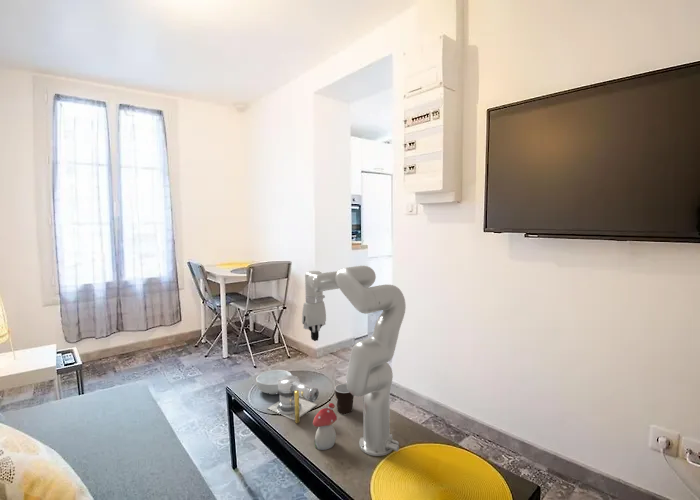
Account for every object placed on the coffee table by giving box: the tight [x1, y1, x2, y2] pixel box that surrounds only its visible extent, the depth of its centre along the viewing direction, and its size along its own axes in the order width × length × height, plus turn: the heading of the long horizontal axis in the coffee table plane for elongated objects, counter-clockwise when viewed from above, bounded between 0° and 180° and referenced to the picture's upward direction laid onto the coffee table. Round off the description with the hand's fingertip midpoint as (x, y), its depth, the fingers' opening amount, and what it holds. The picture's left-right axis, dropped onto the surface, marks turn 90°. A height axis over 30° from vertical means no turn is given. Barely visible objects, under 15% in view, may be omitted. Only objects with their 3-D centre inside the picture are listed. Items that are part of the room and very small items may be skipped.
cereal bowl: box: [255, 369, 292, 395], centre depth 176 cm, size 17×17×7 cm
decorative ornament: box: [312, 402, 338, 451], centre depth 133 cm, size 9×6×15 cm
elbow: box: [277, 374, 320, 403], centre depth 154 cm, size 20×9×6 cm, turn 52°
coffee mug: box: [334, 383, 355, 415], centre depth 159 cm, size 12×9×10 cm
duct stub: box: [267, 390, 318, 424], centre depth 158 cm, size 16×19×14 cm
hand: (314, 339), depth 161 cm, fingers closed
